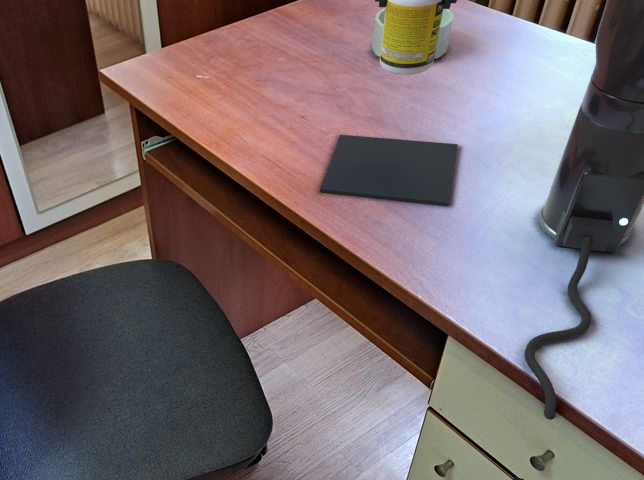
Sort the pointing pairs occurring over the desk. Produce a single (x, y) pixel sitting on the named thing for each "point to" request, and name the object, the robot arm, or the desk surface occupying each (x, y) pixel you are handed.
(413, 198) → the mat
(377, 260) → the desk surface
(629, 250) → the desk surface
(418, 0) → the pill bottle
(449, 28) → the bowl
